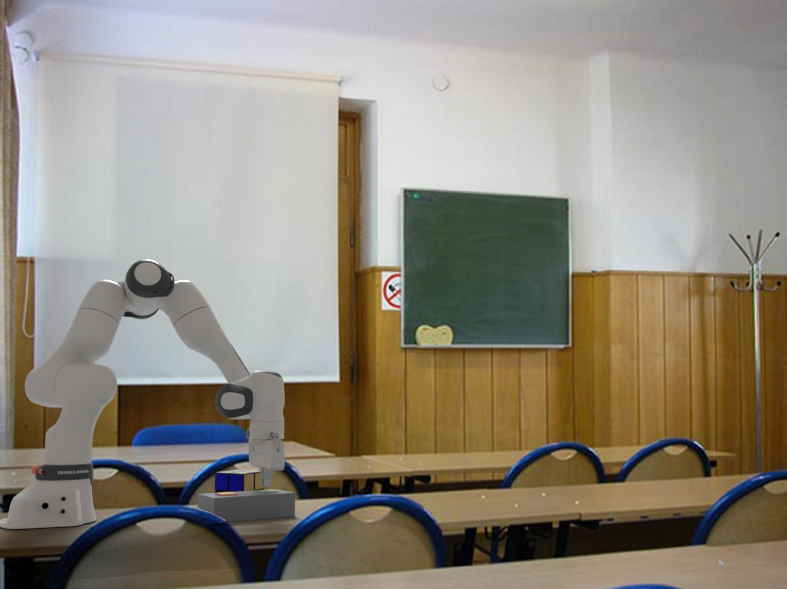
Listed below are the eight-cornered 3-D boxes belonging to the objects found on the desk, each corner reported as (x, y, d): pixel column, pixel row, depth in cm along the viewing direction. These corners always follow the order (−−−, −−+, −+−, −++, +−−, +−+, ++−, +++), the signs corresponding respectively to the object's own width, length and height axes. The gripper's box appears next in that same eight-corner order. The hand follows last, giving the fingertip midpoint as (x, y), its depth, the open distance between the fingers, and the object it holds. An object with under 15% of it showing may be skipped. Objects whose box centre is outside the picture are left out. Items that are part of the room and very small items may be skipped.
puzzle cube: (213, 509, 255) (214, 472, 256) (235, 505, 264) (236, 469, 265) (243, 511, 250) (243, 473, 251) (264, 507, 259) (265, 470, 260)
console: (213, 523, 227) (214, 498, 228) (197, 517, 237) (198, 493, 237) (294, 516, 239) (295, 492, 239) (276, 511, 248) (276, 489, 249)
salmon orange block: (221, 518, 232) (221, 494, 233) (215, 516, 236) (215, 492, 236) (237, 516, 234) (237, 493, 235) (230, 514, 238) (231, 491, 238)
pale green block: (262, 514, 238) (262, 491, 238) (255, 513, 241) (255, 490, 242) (277, 513, 240) (277, 490, 241) (270, 511, 244) (270, 489, 244)
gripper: (291, 433, 234) (290, 489, 233) (267, 430, 253) (266, 482, 251) (267, 433, 232) (266, 490, 230) (244, 431, 250) (243, 483, 249)
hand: (266, 486), depth 241 cm, fingers closed
